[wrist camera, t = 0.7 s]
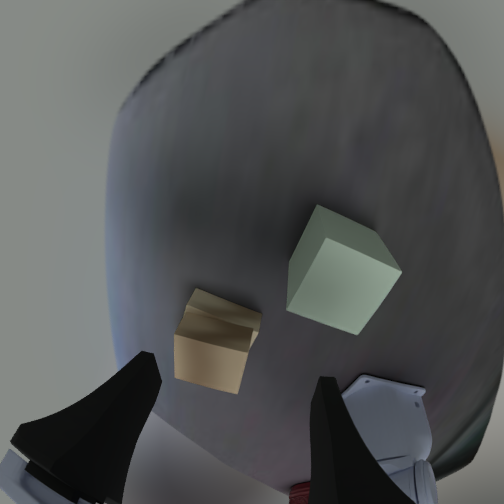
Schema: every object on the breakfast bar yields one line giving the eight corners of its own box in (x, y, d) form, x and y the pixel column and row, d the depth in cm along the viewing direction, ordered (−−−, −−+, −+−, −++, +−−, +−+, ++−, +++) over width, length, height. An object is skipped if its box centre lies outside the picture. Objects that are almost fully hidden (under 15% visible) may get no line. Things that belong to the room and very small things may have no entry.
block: (375, 231, 18) (402, 272, 13) (344, 284, 20) (357, 335, 15) (316, 203, 17) (326, 237, 13) (288, 261, 19) (286, 310, 15)
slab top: (253, 328, 20) (248, 353, 17) (242, 370, 22) (237, 394, 20) (185, 311, 20) (174, 333, 18) (184, 355, 22) (174, 377, 20)
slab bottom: (262, 311, 22) (258, 332, 20) (239, 353, 24) (234, 374, 22) (197, 285, 22) (186, 304, 20) (182, 331, 24) (173, 350, 22)
